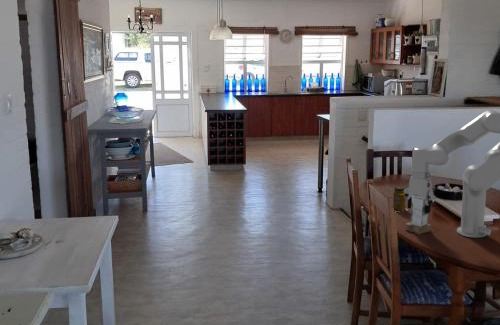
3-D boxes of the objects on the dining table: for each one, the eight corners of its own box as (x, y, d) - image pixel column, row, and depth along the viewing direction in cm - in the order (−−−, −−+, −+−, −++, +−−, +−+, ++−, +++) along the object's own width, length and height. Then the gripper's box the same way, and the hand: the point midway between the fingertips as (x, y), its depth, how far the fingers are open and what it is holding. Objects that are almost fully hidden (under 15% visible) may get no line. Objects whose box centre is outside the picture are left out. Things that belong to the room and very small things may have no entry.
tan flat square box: (430, 230, 237) (430, 224, 236) (419, 234, 232) (419, 228, 232) (416, 226, 243) (416, 220, 242) (405, 229, 239) (405, 223, 238)
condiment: (408, 209, 267) (409, 187, 264) (397, 213, 262) (398, 190, 260) (397, 206, 273) (398, 184, 270) (386, 209, 268) (387, 187, 265)
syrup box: (416, 221, 241) (418, 191, 237) (428, 224, 236) (429, 194, 233) (410, 224, 237) (411, 194, 234) (421, 227, 233) (423, 197, 229)
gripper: (441, 176, 226) (439, 213, 230) (410, 169, 241) (409, 204, 245) (430, 179, 223) (429, 216, 226) (399, 172, 237) (398, 207, 241)
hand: (418, 210), depth 235 cm, fingers open, 9 cm apart
